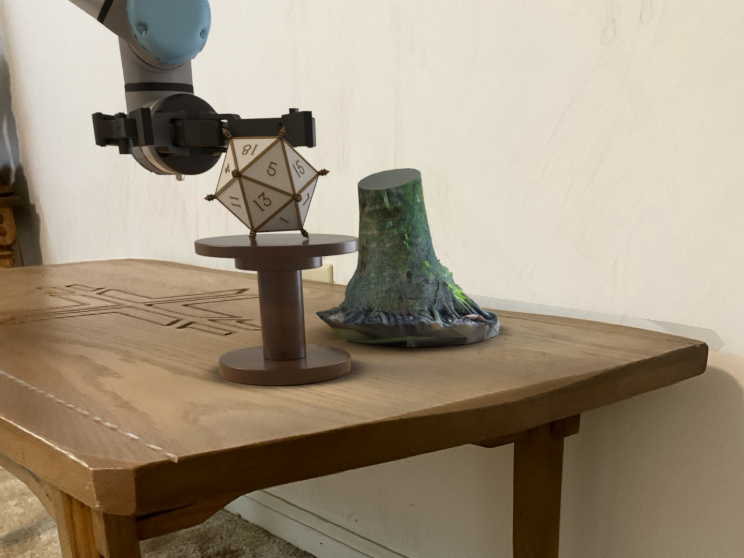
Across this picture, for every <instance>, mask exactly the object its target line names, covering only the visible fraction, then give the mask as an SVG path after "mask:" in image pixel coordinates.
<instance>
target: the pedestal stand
mask: <svg viewBox="0 0 744 558" xmlns="http://www.w3.org/2000/svg"><path fill="white" fill-rule="evenodd" d="M249 235H250V234H233V235H219V236H211V237H203V238H198V239H196V240H194V241H193V245H194V246H193V247H194V253H195V254H196V255H197V256H201V257H207V258H216V259H233V260H234V268H235V269H236V270H241V271H248V272H256V278H257V292H258V304H259V317H260V329H261V343H262V345H255V346H248V347H244V348H243V347H242V348H238V349H234V350H231V351H228V352H226V353H223V354H221V355H220V356H219V358H218V368H219V369H218V370H219V375H220V376H221V377H222V378H223V379H225V380H228V381H231V382H234V383H238V384H244V385H245V384H246V385H254V386H295V385H306V384H315V383H320V382H326V381H330V380H331V381H332V380H335V379H338V378H340V377H343V376H345V375H347V374H348V373H349V372H350V371H351V369H352V361H351V360H352V359H351V352H349V351H348V350H345V349H343V348H341V347H337V346H331V345H327V344H326V345H325V344H316V343H315V344H314V343H307V341H306V340H307V338H306V323H305V322H306V321H305V306H304V305H305V303H304V288H303V287H304V285H303V271H308V270H313V269H314V270H315V269H319V268H321V267H323V264H324V263H323V257H324V258H325V257H333V256H341V255H348V254H353V253H356V252H358V250H359V238H358V237H357V236H354V235H346V234H337V233H309V232H308V236H309V238H306V237H303V235H301V232H300V233H299V232H298V233H292V232H291V233H289V232H288V233H285V232H284V233H282V232H281V233H256V235H257V236H256V237H255V238H256V239H255V240H253V241H252V242H251V241H250V239H249Z"/></svg>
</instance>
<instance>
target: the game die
mask: <svg viewBox="0 0 744 558" xmlns="http://www.w3.org/2000/svg"><path fill="white" fill-rule="evenodd" d="M222 129H223V133H224V134H223V135H225V136H226V138H228V139H229V143H228V147H227V151H226V153H225V155H224V158H223V163H222V166H221V170H220V173H219V177H218V180H217V185H216V188H215V192H214V193H213V194H212V193H210V194H208V193H207V195H206V196H205V197H204V198H203V200H205V201H208V202H209V203H211V201H212V202H213V201H214V200H217V201H218V202H219V204H221V205H222V206H223V207H224V208H225V209H227V211H229V212H230V213H231V214H232V215H233V216H234V217H235V218H236V219H237V220H238V221H239V222H240V223H242V225H244V226H245V227H246V228H247V229H248V230H249V234H250V235H249V239H250V241H251V242H252V241H253V240H255V239H256V238H255V237H256V236H257V235H256V234H265V233H279V232H281V233H282V232H298V231H299V232H300V233H301V235H303V237H306V238H309V236H308V233H309V232H308V231H307V230H306V229H305V228H304V226H305V222H306V219H307V215H308V213H309V210H310V206H311V203H312V199H313V197H314V193H315V190H316V187H317V183H318V180H319V177H320V176H321V177H326V176H327V175H328V174H329V173H330V172H331V170H328V169H326V168H323V169H322V168H321V169H320V170H317V169H316V168H315V167H314V166H313V165H312V164H311V163H310V162H309V161H308V160H307V159H306V158H305V157H304V156H303V155H302V154H301V153H300V152H299V151H297V150H296V149H295V148H293V147H292V146H291V145H290V144H289V143H288V142H287V141H286V140H285V139H284V137H285V134H286V130H285V128H284V127H283V128H282V129H280V130H279V132H278V135H277V136H267V137H232V136H231V133H230V132H229V130H226V129H224V128H222Z"/></svg>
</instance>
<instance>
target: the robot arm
mask: <svg viewBox="0 0 744 558" xmlns="http://www.w3.org/2000/svg"><path fill="white" fill-rule="evenodd" d="M68 2H70V3H71V4H73V5H75V6H76V7H77V8H79V9H80V10H82V11H83V12H85V14H87V15H88V16H90V17H92V18H93V19H95V20H96V21H97V22H98V23H99V24H101V25H102V26H103V27H105V28H106V29H108V30H109V31H110V32H112V34H114V35H116V36H117V40H118V47H119V48H118V49H119V53H120V54H119V55H120V62H121V69H122V75H123V82H124V83H123V84H124V85H123V88H124V99H125V107H126V113H125V111H124V112H123V111H121V112H120V111H118V112H116V113H114V114H113V115H112V114H106V113H102V111H95V112H93V113H92V114H91V121H92V128H93V136H94V143H95V146H98V147H100V148H107V147H117V148H118V154H119V155H130V156H131V157H132V158H133V160H135V162H136V163H137V164H138V165H140V167H142V168H143V169H144V170H146V171H148V172H150V173H154V174H155V175H157V176H175V180H176V181H178V182H182V181H184V180H185V178H186V176H199V175H201V174H204V173H207V172H209V171H210V170H211V169H213V168H214V167H215V166H216V165H217V164H218V162H219V161H220V159H221V157H222V155H223V154H226V151H227V147H228V143H229V139H228V138H226V136H225V135H223V134H224V133H223V129H222V128H224V129H226V130H229V132H230V133H231V136H232V137H267V136H277V135H278V132H279V130H280V129H282V128H283V127H284V128H285V130H286V134H285V137H284V139H285V140H286V141H287V142H288V143H289V144H290V145H291V146H292V147H293V148H294V149H295V148H296V149H297V148H301V147H302V148H303V147H304V148H305V147H306V148H307V149H313V148H316V147H317V127H316V118H315V117H313V110H301V111H300V108H299V107H289V108H288V113H285V114H281V115H280V117H258V118H257V117H256V118H255V117H254V118H242V117H241V115H240V114H238V113H229V112H228V113H218V112H217V111H216V110H215V108H214V107H213V106H212V105H211V104H210V103H209V102H207V100H205V99H203V98H202V97H200V96H198V95H195V88H194V81H193V69H192V67H193V66H192V60H195V59H196V57H197V56H198V54H199V53H201V52H202V51H203V49H204V48H205V46H206V44H207V41H208V37H209V34H210V32H211V28H212V27H211V25H212V10H211V6H210V2H209V0H68Z"/></svg>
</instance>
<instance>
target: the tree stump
mask: <svg viewBox="0 0 744 558" xmlns="http://www.w3.org/2000/svg"><path fill="white" fill-rule="evenodd" d="M357 197H358V198H357V199H358V237H357V238H359V250H358V251H357V262H356V268H355V271H354V272H353V274H352V276H351V278H350V279H349V281H348V282H347V285H346V288H345V291H344V299H343V301H342V302H341V303H340V304H339V305H338V306H334V307H331V308H328V309H325V310H317V311H316V312H315V314H316V316H317V317H318V318H319V319H320V320H321V321H323V323H324V324H326V325H327V326H328V327H329V328H331V329H332V330H333V331H334V332H335V333H336V334H337V335H339V337H341V338H342V339H343V341H345V342H352V343H361V344H371V345H381V346H390V347H399V348H401V347H402V348H423V347H440V346H455V345H468V344H473V343H478V342H484V341H486V340H488V339H491V338H494V337H496V336H498V335H499V330H500V327H501V323H500V320H498V319H499V317H498V314H497V313H495V312H493V311H490V310H485V309H483V308H482V307H481V306H480V305H479V304H478V303H476V302H475V301H474V299H472V298H471V297H470V296H468V295H467V294H466V292H464V291H463V288H462V287H461V286H460V284H457V283H456V281H455V280H454V278H453V277H454V274H453V271H450V268H448V267H447V266H445V265H443V264H442V262H440V261H441V259H438V256H437V255H436V251H435V248H434V243H433V238H432V235H431V229H430V224H429V220H428V214H427V209H426V204H425V196H424V186H423V179H422V172H421V171H420V170H418V169H416V168H410V167H405V168H394V169H393V168H392V169H386V170H381V171H377V172H374V173H371V174H368V175H367V176H365V177H363V178H361V179H360V180H359V181H358V182H357Z"/></svg>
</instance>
